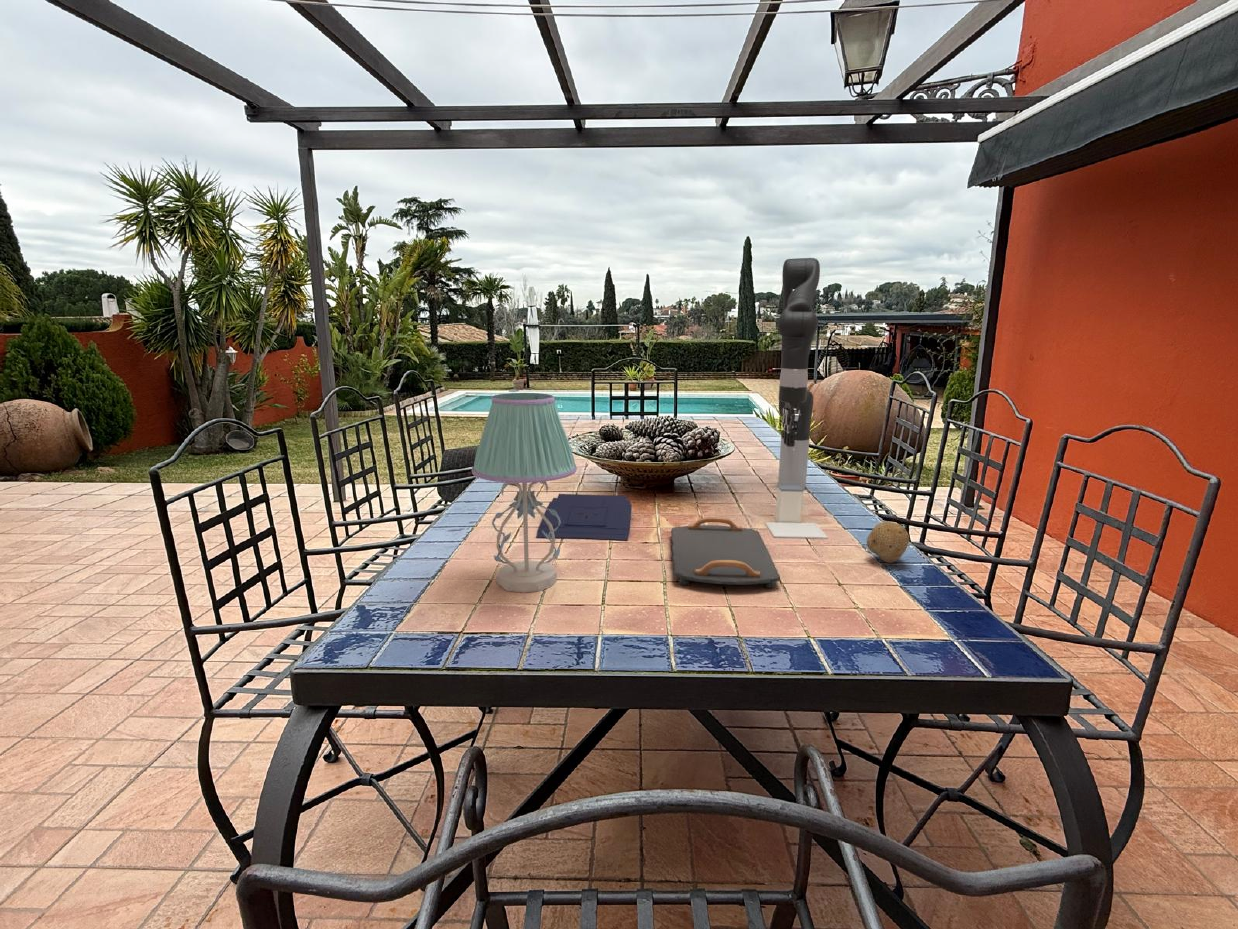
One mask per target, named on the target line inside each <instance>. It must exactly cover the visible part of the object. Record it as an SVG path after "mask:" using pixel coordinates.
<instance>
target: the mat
mask: <svg viewBox="0 0 1238 929" xmlns="http://www.w3.org/2000/svg"><path fill="white" fill-rule="evenodd" d="M764 525H766V528H768V530H769V532H770V533H771V536H772V537H773V538H774V537H775V539H777V538H778V539H779V538H780V539H781V538H783V539H819V540H820V539H823V540H826V539H828V538H829V537H828V536H827V535H826V534H825V532H824V531H823V530H822V529H821V528H820V527H819V526H818V525H817V523H815V522H801V523H780V522H778V521H776V522H772V521H771V522H769V521H765V522H764Z"/></svg>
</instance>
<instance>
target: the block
mask: <svg viewBox="0 0 1238 929" xmlns="http://www.w3.org/2000/svg"><path fill="white" fill-rule="evenodd" d="M776 489H777V490H776V504H775V517H774V518H775V519H776V522H780V523H802V521H801V520H802V510H803V509H802V508H803V496H804V490H803V489H802V488H801V487H800V486H799V485H778V484H777V488H776Z"/></svg>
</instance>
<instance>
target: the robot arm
mask: <svg viewBox="0 0 1238 929" xmlns="http://www.w3.org/2000/svg"><path fill="white" fill-rule="evenodd" d="M820 267H821V265H820V262H819V260H818V259H817V258H814V257H801V258H800V257H798V258H796V257H795V258H787V259H785V261H784V263H783V265H782V313H781V314H780V315H779V318H778V319H777V320H778V321H777V331H778V334H779V335H780V336H781V369H780V370H781V372H780V374H779V386H778V387H779V388H778V413H779V416H781V418H782V419H781V422H782V425H781V426H782V428H783V429H782V430H781V433H780V434H781V436H780V451H779V462H778V464H779V466H778V478H777V479H778V480H777V486H778V485H799V486H800V487H801V488H802V489H803V491H804V490H806V485H807V475H808V474H807V473H808V461H809V460H808V459H809V446H810V435H811V424H812V423H811V422H812V415H813V411H814V410H813V407H814V395H813V393H812V392H811V391H808V378H809V376H808V371H809V370H808V368H809V356H810V354H811V351H812V342H813V340H814V337H815V335H816V332H817V329H818V326H819V319H818V316H817V315H816V313H815V312H813V303H814V302H813V301H814V297H815V294H816V291H817V289H818V286H819V283H820V274H821V268H820Z"/></svg>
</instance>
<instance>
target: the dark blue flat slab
mask: <svg viewBox="0 0 1238 929" xmlns="http://www.w3.org/2000/svg"><path fill="white" fill-rule="evenodd" d="M627 497H628V496H627V495H616V494H615V495H614V494H613V495H611V494H609V495H608V494H578V493H577V494H573V493H559V494H558V495H557V497H553V498H552V500H551V501H550V502H549V503H548V505H547V507H546V508H548V509H553V510H555V511H556V512H557V514H558V516H559V517H560V521H561V523H560V525H559V527H558V528H557V530H556V531H554V536H555V539H556V538H559V539H560V538H561V539H562V538H565V539H567V538H568V539H569V538H572V539H574V538H575V539H596V540H597V539H599V540H616V541H628V540H629V537H630V536H629V535H630V532H631V519H632V508H633V507H632V504H631V499H627ZM543 514H544V516H545V517H546V518H547V519H548V520H549V522H550V523H551V524H552V526H553V530H554V529H555V528H556V527H557V525H558V523H559V521H558V518H557V517H556V516H554V515H552V514H551V513H550V511H549V510H547V509H545V512H544V513H543ZM541 518H542V517H541ZM542 530H543V531H544V532H545V533H547V534H548V535H549V532H550V529H549V526H548V524H547V523H546V522H545V520H544V519H543V518H542V519H541V520H540V524H539V527H538V529H537V533H536V538H546V537H545V535H544V534H543V532H542ZM550 537H551V533H550Z"/></svg>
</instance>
